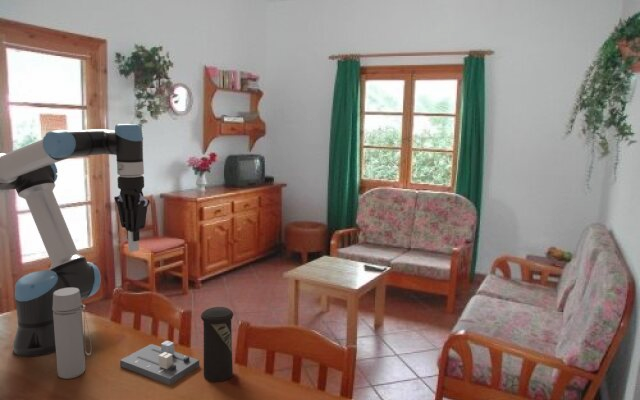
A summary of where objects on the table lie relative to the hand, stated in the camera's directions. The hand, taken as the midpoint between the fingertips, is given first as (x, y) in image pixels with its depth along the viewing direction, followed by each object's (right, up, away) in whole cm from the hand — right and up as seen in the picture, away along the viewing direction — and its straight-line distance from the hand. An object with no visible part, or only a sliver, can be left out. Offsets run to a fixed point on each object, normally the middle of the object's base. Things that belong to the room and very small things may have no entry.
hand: (133, 250), depth 149 cm
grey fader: (+11, -31, -3) cm, 34 cm away
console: (+10, -34, -5) cm, 36 cm away
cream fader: (+13, -33, -10) cm, 36 cm away
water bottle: (-13, -35, -10) cm, 38 cm away
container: (+28, -36, -9) cm, 46 cm away
